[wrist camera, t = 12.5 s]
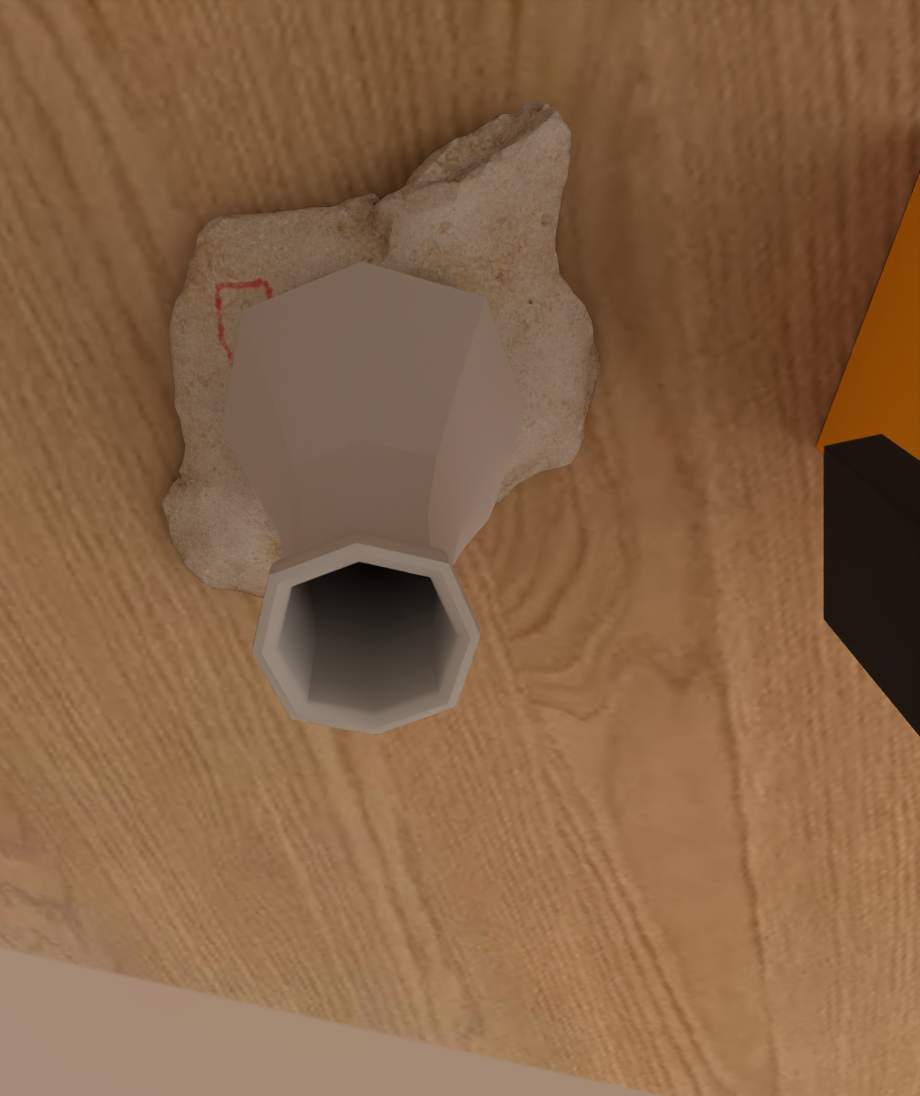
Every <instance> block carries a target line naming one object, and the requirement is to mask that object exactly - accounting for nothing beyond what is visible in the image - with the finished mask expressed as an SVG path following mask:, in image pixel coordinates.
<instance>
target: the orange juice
mask: <svg viewBox="0 0 920 1096" xmlns="http://www.w3.org/2000/svg"><path fill="white" fill-rule="evenodd" d="M878 434H883V435H884V436H886V437H887V438H889V439H890V440H891V441H893V442H894V443H896V444H897V445H898V446H900V447H901V448H903V449H904V450H905V451H907V452H908V453H910V454H911V455H913V456H914V457H915V458H917V459H918V460H920V174H919V176H918V179H917V182H916V184H915V187H914V190H913V192H912V195H911V198H910V200H909V203H908V205H907V208H906V211H905V213H904V216H903V219H902V221H901V224H900V227H899V229H898V232H897V235H896V237H895V240H894V242H893V245H892V248H891V250H890V253H889V256H888V258H887V261H886V264H885V266H884V269H883V271H882V274H881V277H880V279H879V282H878V285H877V287H876V290H875V293H874V295H873V298H872V300H871V303H870V306H869V308H868V311H867V314H866V316H865V319H864V322H863V324H862V327H861V330H860V332H859V335H858V337H857V340H856V343H855V345H854V348H853V351H852V353H851V356H850V359H849V361H848V364H847V366H846V369H845V372H844V374H843V377H842V380H841V382H840V385H839V388H838V390H837V393H836V395H835V398H834V401H833V403H832V406H831V409H830V411H829V414H828V417H827V419H826V422H825V425H824V427H823V430H822V432H821V435H820V438H819V440H818V443H817V446H816V448H817V449H818V450H819V451H820V452H821V453H823V454H824V446H826V445H831V444H836V443H840V442H845V441H850V440H854V439H859V438H864V437H868V436H873V435H878Z"/></svg>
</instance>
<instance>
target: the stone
mask: <svg viewBox="0 0 920 1096" xmlns="http://www.w3.org/2000/svg"><path fill="white" fill-rule="evenodd" d="M570 151H571V132H570V130H569V127H568V124H566V123H564V121H563V119H562V118H561V116H560V114H559V112H558V111H557V110H556V109H555V108H554V107H553V106H552V105H548V104H544V103H541V102H539V101H536V100H534V101H531V102H529V103H526V104H524V105H523V106H522V107H521V108H520V109H519V110H518V111H517V112H516V114H501V115H499V116H498V117H496V118H494V119H493V120H492V121H490V122H489V123H487V124H486V125H484V126H482V127H481V128H479V129H477V130H476V131H474V132H472V133H470V134H469V135H467V136H463V137H459V138H456V139H454V140H453V141H451V142H449V143H448V144H446V145H445V146H443V147H441V148H439V149H437V150H435V151H434V152H433V153H432V154H431V155H430V156H429V157H428V158H427V159H426V160H425V161H424V162H423V163H422V164H421V165H420V166H419V167H418V168H417V169H416V170H415V171H414V172H413V174H412V175H411V176H410V177H409V179H408V181H407V183H406V184H405V186H404V187H403V188H401V189H400V190H398V191H396V192H392V193H389V194H387V195H386V196H385V197H384V198H382V199H381V198H380V197H379V196H378V195H377V194H374V193H370V194H366V195H363V196H358V197H354V198H349V199H346V200H345V201H343V202H341V203H339V204H337V205H335V206H332V207H324V208H322V207H306V208H302V209H298V210H289V211H274V212H266V213H258V214H232V215H227V216H222V217H219V218H216V219H213V220H210V221H209V222H208V223H207V224H206V226H205V227H204V228H203V229H202V231H201V232H200V233H199V234H198V237H197V242H196V246H195V250H194V255H193V257H192V258H191V260H190V262H189V267H188V272H187V276H186V280H185V284H184V288H183V290H182V292H181V293H180V295H179V296H178V298H177V300H176V303H175V306H174V309H173V313H172V318H171V323H170V329H169V337H170V346H171V356H172V365H173V378H174V385H175V402H174V405H175V409H176V411H177V413H178V415H179V417H180V422H181V428H182V433H183V437H184V441H185V452H184V458H183V463H182V465H181V467H180V470H179V472H180V474H181V477H180V478H178V479H177V480H175V482H174V483H173V485H172V486H171V489H170V491H169V492H168V493H167V494H166V496H165V497H164V499H163V503H162V506H163V509H164V512H165V515H166V518H167V523H168V527H169V531H170V534H171V542H172V544H173V545H174V546H175V547H176V549H177V550H178V551H179V552H180V554H181V556H182V559H183V562H184V565H185V566H186V567H187V568H188V569H189V570H190V571H191V572H192V573H193V574H194V575H195V576H196V577H198V578H199V580H200V581H201V582H202V583H206V584H208V585H209V586H210V587H212V588H213V589H222V590H231V591H239V592H246V593H250V594H253V595H256V596H260V597H264V593H265V588H266V584H267V579H268V575H269V570H270V567H271V566H272V565H273V563H274V562H275V561H277V560H280V559H283V555H282V548H281V542H280V538H279V536H278V534H277V532H276V530H275V529H274V527H273V525H272V523H271V521H270V519H269V517H268V516H267V514H266V512H265V510H264V508H263V506H262V504H261V502H260V501H259V499H258V497H257V495H256V493H255V491H254V489H253V487H252V486H251V484H250V482H249V480H248V478H247V476H246V474H245V473H244V471H243V469H242V467H241V465H240V463H239V461H238V459H237V458H236V456H235V454H234V452H233V450H232V448H231V446H230V444H229V443H228V441H227V439H226V437H225V435H224V433H223V431H222V429H221V426H222V421H223V415H224V410H225V404H226V399H227V393H228V388H229V382H230V377H231V371H232V366H233V360H234V355H235V349H236V344H237V338H238V333H239V327H240V322H241V316H242V310H244V309H246V308H249V307H251V306H254V305H256V304H258V303H261V302H263V301H266V300H268V299H271V298H273V297H276V296H278V295H281V294H283V293H285V292H288V291H290V290H293V289H295V288H298V287H300V286H303V285H305V284H308V283H310V282H312V281H315V280H317V279H320V278H322V277H325V276H327V275H330V274H332V273H335V272H337V271H340V270H342V269H344V268H347V267H349V266H352V265H354V264H357V263H359V262H365V263H368V264H372V265H375V266H379V267H382V268H386V269H389V270H393V271H396V272H400V273H403V274H407V275H410V276H414V277H417V278H421V279H424V280H428V281H431V282H435V283H438V284H442V285H445V286H449V287H452V288H456V289H459V290H463V291H466V292H470V293H473V294H477V295H480V296H483V297H486V299H487V302H488V304H489V307H490V310H491V313H492V316H493V319H494V321H495V324H496V327H497V330H498V333H499V336H500V338H501V341H502V344H503V347H504V350H505V353H506V355H507V358H508V361H509V364H510V367H511V369H512V372H513V375H514V378H515V381H516V384H517V386H518V389H519V392H520V395H521V398H522V401H523V403H524V406H525V409H526V412H525V415H524V418H523V421H522V424H521V427H520V430H519V433H518V436H517V439H516V442H515V445H514V448H513V451H512V454H511V457H510V460H509V463H508V466H507V469H506V472H505V475H504V478H503V481H502V484H501V487H500V490H499V493H498V496H497V499H496V501H495V504H496V503H498V502H500V501H502V500H503V499H504V498H505V497H506V496H507V495H508V494H509V493H510V491H511V490H512V489H513V488H514V487H515V486H517V485H518V484H519V483H520V482H522V481H524V480H526V479H528V478H530V477H531V476H533V475H535V474H536V473H538V472H542V471H546V470H551V469H556V468H561V467H564V466H566V465H568V464H569V463H571V462H572V461H573V460H574V459H575V457H576V455H577V453H578V451H579V449H580V446H581V444H582V441H583V440H584V438H585V437H584V428H585V418H586V415H587V412H588V409H589V406H590V402H591V399H592V397H593V394H594V390H595V382H596V379H597V376H598V373H599V370H600V356H599V353H598V350H597V349H596V347H595V345H594V337H593V326H592V321H591V319H590V316H589V314H588V312H587V310H586V307H585V305H584V304H583V303H582V301H581V300H580V299H579V298H578V297H577V296H575V294H574V292H573V291H572V289H571V288H570V286H569V285H568V284H567V282H566V281H565V280H564V278H563V277H562V276H561V273H560V270H559V263H558V256H557V253H556V247H555V243H556V231H557V225H558V219H559V212H560V205H561V199H562V194H563V189H564V186H565V183H566V181H567V178H568V169H569V161H570Z"/></svg>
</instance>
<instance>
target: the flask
mask: <svg viewBox="0 0 920 1096" xmlns="http://www.w3.org/2000/svg"><path fill="white" fill-rule="evenodd" d="M525 412H526V409H525V406H524V403H523V401H522V398H521V395H520V392H519V389H518V386H517V384H516V381H515V378H514V375H513V372H512V369H511V367H510V364H509V361H508V358H507V355H506V353H505V350H504V347H503V344H502V341H501V338H500V336H499V333H498V330H497V327H496V324H495V321H494V319H493V316H492V313H491V310H490V307H489V304H488V302H487V299H486V297H483V296H480V295H477V294H473V293H470V292H466V291H463V290H459V289H456V288H452V287H449V286H445V285H442V284H438V283H435V282H431V281H428V280H424V279H421V278H417V277H414V276H410V275H407V274H403V273H400V272H396V271H393V270H389V269H386V268H382V267H379V266H375V265H372V264H368V263H365V262H359V263H357V264H354V265H352V266H349V267H347V268H344V269H342V270H340V271H337V272H335V273H332V274H330V275H327V276H325V277H322V278H320V279H317V280H315V281H312V282H310V283H308V284H305V285H303V286H300V287H298V288H295V289H293V290H290V291H288V292H285V293H283V294H281V295H278V296H276V297H273V298H271V299H268V300H266V301H263V302H261V303H258V304H256V305H254V306H251V307H249V308H246V309H244V310H242V316H241V322H240V327H239V333H238V338H237V344H236V349H235V355H234V360H233V366H232V371H231V377H230V382H229V388H228V393H227V399H226V404H225V410H224V415H223V421H222V426H221V429H222V431H223V433H224V435H225V437H226V439H227V441H228V443H229V444H230V446H231V448H232V450H233V452H234V454H235V456H236V458H237V459H238V461H239V463H240V465H241V467H242V469H243V471H244V473H245V474H246V476H247V478H248V480H249V482H250V484H251V486H252V487H253V489H254V491H255V493H256V495H257V497H258V499H259V501H260V502H261V504H262V506H263V508H264V510H265V512H266V514H267V516H268V517H269V519H270V521H271V523H272V525H273V527H274V529H275V530H276V532H277V534H278V536H279V538H280V542H281V548H282V555H283V559H280V560H277V561H275V562H274V563H273V565H272V566H271V567H270V570H269V575H268V579H267V584H266V588H265V593H264V597H263V602H262V606H261V611H260V615H259V620H258V624H257V629H256V633H255V638H254V642H253V648H252V654H253V656H254V657H255V659H256V661H257V662H258V664H259V666H260V667H261V669H262V671H263V672H264V674H265V676H266V678H267V679H268V681H269V683H270V684H271V686H272V688H273V689H274V691H275V693H276V694H277V696H278V698H279V699H280V701H281V703H282V704H283V706H284V708H285V709H286V711H287V713H288V715H289V716H290V718H291V719H292V720H297V721H303V722H308V723H314V724H319V725H325V726H330V727H336V728H341V729H347V730H352V731H358V732H363V733H369V734H374V735H377V734H380V733H383V732H386V731H388V730H391V729H394V728H397V727H400V726H403V725H406V724H408V723H411V722H414V721H417V720H420V719H423V718H426V717H429V716H431V715H434V714H437V713H440V712H443V711H446V710H449V709H451V708H454V707H456V704H457V702H458V699H459V696H460V693H461V690H462V687H463V685H464V682H465V679H466V676H467V673H468V671H469V668H470V665H471V662H472V659H473V656H474V654H475V651H476V648H477V645H478V642H479V639H480V637H481V636H480V627H479V625H478V622H477V620H476V618H475V615H474V613H473V611H472V608H471V606H470V604H469V602H468V599H467V597H466V595H465V592H464V590H463V588H462V585H461V583H460V581H459V579H458V576H457V574H456V572H455V569H454V567H453V565H454V563H455V562H456V560H457V559H458V557H459V556H460V554H461V553H462V551H463V550H464V548H465V547H466V545H467V544H468V543H469V542H470V541H471V540H472V538H473V537H474V536H475V535H476V534H477V533H478V532H479V530H480V529H481V528H482V527H483V526H484V525H485V523H486V522H487V520H488V519H489V517H490V516H491V513H492V510H493V507H494V504H495V501H496V499H497V496H498V493H499V490H500V487H501V484H502V481H503V478H504V475H505V472H506V469H507V466H508V463H509V460H510V457H511V454H512V451H513V448H514V445H515V442H516V439H517V436H518V433H519V430H520V427H521V424H522V421H523V418H524V415H525Z"/></svg>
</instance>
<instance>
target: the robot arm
mask: <svg viewBox="0 0 920 1096" xmlns="http://www.w3.org/2000/svg"><path fill="white" fill-rule="evenodd" d="M824 620H825V621H826V622H827V624H828V625H829V626H830V627H831V628H832V630H833V631H834V632H835V633H836V635H837V636H838V637H839V638H840V639H841V641H842V642H843V643H844V644H845V646H846V647H847V648H848V649H849V650H850V652H851V653H852V654H853V655H854V657H855V658H856V659H857V660H858V661H859V663H860V664H861V665H862V666H863V668H864V669H865V670H866V671H867V673H868V674H869V675H870V676H871V677H872V679H873V680H874V681H875V682H876V684H877V685H878V686H879V687H880V688H881V690H882V691H883V692H884V693H885V695H886V696H887V697H888V698H889V699H890V701H891V702H892V703H893V704H894V706H895V707H896V708H897V709H898V710H899V712H900V713H901V714H902V715H903V717H904V718H905V719H906V720H907V721H908V723H909V724H910V725H911V726H912V728H913V729H914V730H915V731H916V732H917V734H918V735H919V736H920V460H918V459H917V458H915V457H914V456H913V455H911V454H910V453H908V452H907V451H905V450H904V449H903V448H901V447H900V446H898V445H897V444H896V443H894V442H893V441H891V440H890V439H889V438H887V437H886V436H884V435H883V434H878V435H873V436H868V437H864V438H859V439H854V440H850V441H845V442H840V443H836V444H831V445H826V446H824Z"/></svg>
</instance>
